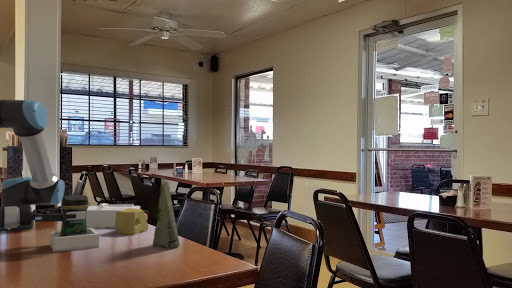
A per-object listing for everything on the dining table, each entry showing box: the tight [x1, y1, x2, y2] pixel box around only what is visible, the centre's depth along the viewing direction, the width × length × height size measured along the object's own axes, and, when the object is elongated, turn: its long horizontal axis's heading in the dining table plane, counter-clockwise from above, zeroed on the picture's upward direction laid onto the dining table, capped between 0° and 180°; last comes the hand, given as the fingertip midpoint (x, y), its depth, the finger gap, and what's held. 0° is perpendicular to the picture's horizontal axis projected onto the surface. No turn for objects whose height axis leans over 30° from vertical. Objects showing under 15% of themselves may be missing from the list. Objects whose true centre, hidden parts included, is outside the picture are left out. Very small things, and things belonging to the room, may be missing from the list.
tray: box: [49, 228, 100, 253], centre depth 155 cm, size 13×15×5 cm
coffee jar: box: [60, 194, 89, 237], centre depth 155 cm, size 10×8×19 cm
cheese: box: [114, 208, 149, 235], centre depth 183 cm, size 10×11×10 cm
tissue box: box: [86, 202, 141, 229], centre depth 199 cm, size 14×25×11 cm, turn 95°
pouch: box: [151, 180, 180, 249], centre depth 157 cm, size 11×12×25 cm
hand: (82, 212), depth 157 cm, fingers open, 13 cm apart
